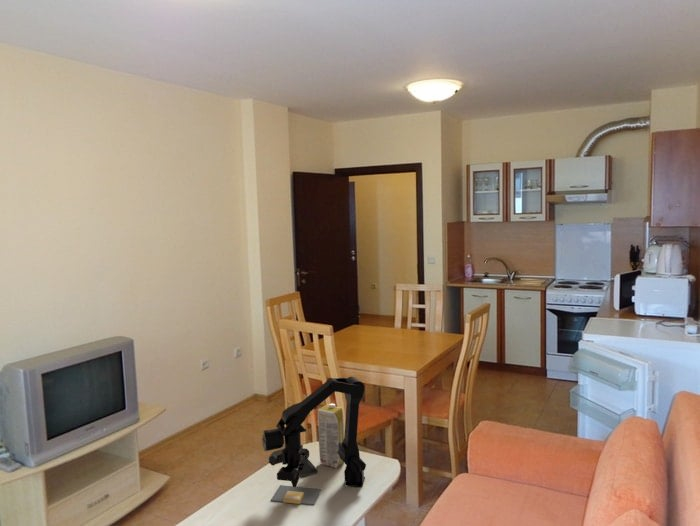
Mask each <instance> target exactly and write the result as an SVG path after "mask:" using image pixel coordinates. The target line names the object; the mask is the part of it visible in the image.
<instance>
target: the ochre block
mask: <svg viewBox="0 0 700 526" xmlns="http://www.w3.org/2000/svg"><path fill="white" fill-rule="evenodd" d="M303 497H304V492H296V491H287V493H286V495H285V496H284V498H283V502H282V503H285V502H286V503H289V504H295V505H297V504H298V505H301V504H300V502H301V501H302V499H303Z"/></svg>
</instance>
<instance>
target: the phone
mask: <svg viewBox="0 0 700 526" xmlns="http://www.w3.org/2000/svg"><path fill="white" fill-rule="evenodd" d="M301 463H303V464H305V465H304V468H303V470H302V473H301V475H300V478H305V477H306V478H307V477H309V476H312V475H316V474H317V475H318V473H319V471H318V468H316V466H315V465H314V464H313V463H312V461H311V460H310V459H309V458H308V459H305V456H303V460H302V461H301ZM300 478H299V479H300Z"/></svg>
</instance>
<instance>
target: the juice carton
mask: <svg viewBox="0 0 700 526" xmlns="http://www.w3.org/2000/svg"><path fill="white" fill-rule="evenodd" d="M344 420H345V419H344V411H343V407H341V406H336V404H335V403H329V404H325V405H324V406H321V407H320V408H318V411H317V426H318V429H317V431H318V447H319V449H318V451H319V462H320V464H321V465H324V466H327V467H331V468H333V469H336V468H338V467H340V465H342V464H343V463H344V462H343V461H342V459H341V458H340V457H339V454H338V453H337V452H338V449H339V447H338V443H342V442H343V440H344V435H345V422H344Z"/></svg>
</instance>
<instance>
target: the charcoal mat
mask: <svg viewBox="0 0 700 526" xmlns="http://www.w3.org/2000/svg"><path fill="white" fill-rule="evenodd" d="M287 491H296V492H304V497H303V499H302V501H301V502H300V504H299V505H306V506H307V505H310V506H315V504H316V502H317V500H318V499H319V496H320V494H321V492H322V488H319V487H307V486H306V487H305V486H296V487H293V485H284V484H280V485H279V486H278V488H277V489H276V491H275V492H274V494H273V496H272V497H271V499H270V502H275V503H286V502H283V498H284V496H285V495H286V493H287Z"/></svg>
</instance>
